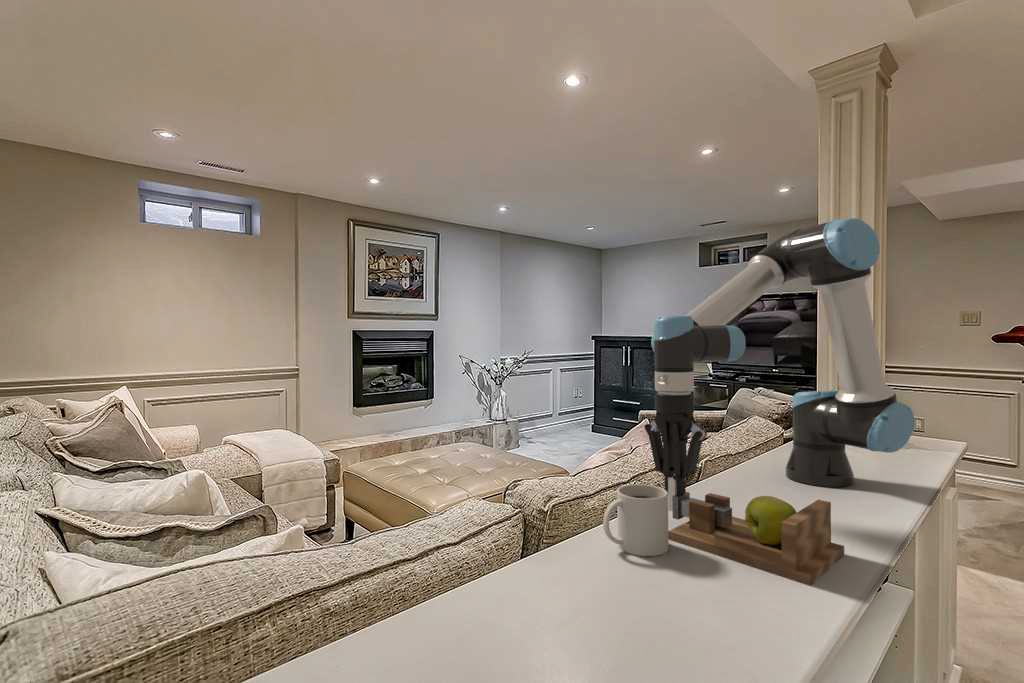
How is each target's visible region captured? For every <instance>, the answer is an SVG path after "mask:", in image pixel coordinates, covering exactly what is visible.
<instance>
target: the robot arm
mask: <svg viewBox="0 0 1024 683" xmlns="http://www.w3.org/2000/svg"><path fill="white" fill-rule="evenodd" d="M880 246H881V245H880V242H879V238H878V236H877V233H876V231H875V230H874V229H873V227H871V226H870V225H869V223H866V222H865V221H864V220H862V219H860V218H854V217H848V218H840V219H833V220H831V221H828V222H827V221H826V222H823V223H820V224H816V225H811V226H808V227H804V228H798V229H795V230H792V231H790V232H787V233H786V234H783V235H782V236H781V237H779V238H777V239H776V240H774V241H772V242H771V243H769V245H767V246H765V247H764V248H763V249H761V250H760V251H759V252H758V253H757V254H755V255H754V256H752V257H751V258H750V260H749V261H748V264H747V267H746V268H744V269H742V270H741V271H740V272H739V273H737V274H736V275H735V276H734V277H732V278H731V279H730V280H729V281H728V282H726V283H725V284H724V285H722V286H721V287H720V288H718V289H717V290H716V291H715V292H714V293H712V294H711V295H709V296H708V297H707V298H706V299H704V300H703V301H702V302H701V303H699V304H698V305H697V306H696V307H694V308H693V309H692V310H690V311H689V312H688V313H687V314H686V315H664V316H658V317H657V318H656V319H654V327H653V334H652V336H651V340H650V341H651V342H650V345H651V348H652V352H653V355H654V390H655V391H656V392H657V393H655V394H654V410H655V416H654V418H653V421H651V422H650V423H644V431H646V434H647V436H648V439H649V442H650V443H649V444H650V448H651V452H652V458H653V463H654V467H655V471H656V472H658V473H661V474H663V476H664V490H666V491H667V493H668V511H671V512H673V504H672V496H674V495H676V494H678V495H683V494H685V492H687V491H686V486H687V485H686V482H687V481H686V479H688V478H691V477H693V476H695V475H696V470H697V468H698V463H699V458H700V454H701V448H702V445H703V441H704V440H705V438H706V436H707V435H708V431H707V430H706V429H701V428H700V427H698V426H697V425H696V420H695V418H694V412H695V396H694V395H693V393H692V392H693V391H695V383H694V382H695V380H694V379H695V378H694V377H695V376H694V375H695V373H694V371H695V369H694V368H695V367H694V364H695V363H701V362H702V363H712V362H713V363H714V362H717V363H718V362H724V363H727V362H732V361H734V362H735V361H737V360H739V359H740V358H741V357H742V356H743V355H744V353H745V351H746V346H747V345H746V336H745V334H744V332H743V330H742V329H741V328H739V327H738V326H735V325H727V324H728V323H730V322H731V321H732V320H733V319H735V318H736V317H737V316H738V315H739V314H740V313H742V312H743V311H744V310H745V309H746V308H748V307H749V306H750V305H752V304H753V303H754V302H756V301H757V300H758V299H759V298H761V297H762V296H763V295H764V294H765V293H766V292H768V291H769V290H776V289H778V288H780V287H781V286H782V285H784V284H785V283H787V282H790V281H792V280H797V279H802V278H807V277H809V281H810V284H811V287H813V289H816V290H817V291H819V292H820V296H821V300H822V305H823V309H824V314H825V319H826V323H827V328H828V332H829V338H830V343H831V347H832V352H833V355H834V356H833V357H834V361H835V365H836V369H837V375H838V380H839V384H840V389H837V390H836V389H833V390H813V391H798V392H795V394H794V395H793V398H792V407H791V410H792V411H791V412H792V441H793V442H792V449H791V452H790V456H789V458H788V460H787V464H786V466H785V476H786V477H787V478H788V479H790V480H791V481H794V482H798V483H800V484H801V483H802V484H805V485H811V486H812V485H813V486H818V487H827V488H828V487H829V488H831V487H832V488H838V487H839V488H843V487H850V486H852V485H854V483H855V476H854V472H853V469H852V466H851V464H850V461H849V459H848V456H847V453H846V446H848V447H849V446H850V447H854V448H859V449H864V450H869V451H871V452H879V453H880V452H881V453H889V454H890V453H892V454H893V453H895V452H898V451H900V450H901V449H903V448H904V447H905V446H906V444H908V442H909V441H910V439H911V437H912V434H913V431H914V428H915V415H914V412H913V410H912V408H911V407H909V406H908V404H905V403H904V402H901V401H898V399H897V395H896V391H895V389H894V388H892V387H891V386H889V385H887V384H886V382H885V377H884V376H885V375H884V371H883V366H882V363H881V362H882V361H881V356H880V352H879V347H878V342H877V341H878V340H877V336H876V332H875V327H874V323H873V317H872V313H871V308H870V303H869V298H868V292H867V287H866V282H867V280H868V279H869V278H870V277H871V275H872V271H871V267H873V266H874V265H876V263H877V262H878V260H879V256H878V255H880V252H881V247H880ZM689 435H690V437H691V438H690V441H689V440H688V436H689ZM688 441H689V445H688V449H687V444H688Z"/></svg>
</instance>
